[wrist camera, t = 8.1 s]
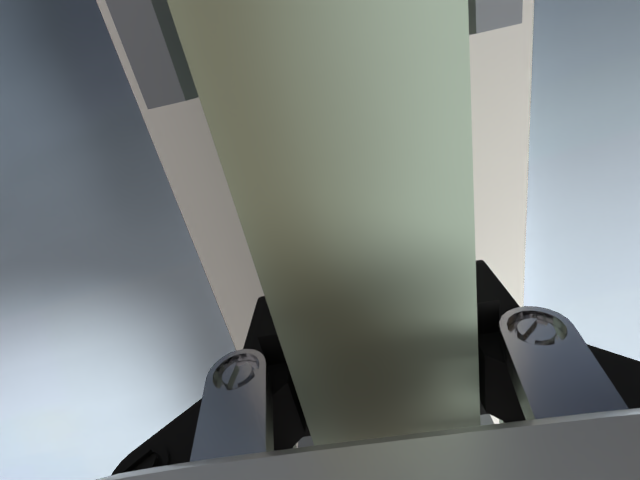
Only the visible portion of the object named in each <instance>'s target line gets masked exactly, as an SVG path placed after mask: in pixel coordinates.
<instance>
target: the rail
mask: <svg viewBox="0 0 640 480" xmlns="http://www.w3.org/2000/svg"><path fill="white" fill-rule="evenodd" d="M167 3H168V6H169V9H170V12H171V15H172V18H173V21H174V24H175V27H176V30H177V33H178V36H179V39H180V42H181V45H182V48H183V51H184V54H185V57H186V60H187V63H188V66H189V69H190V72H191V75H192V78H193V81H194V84H195V87H196V90H197V93H198V96H199V99H200V102H201V105H202V108H203V111H204V114H205V117H206V120H207V123H208V126H209V129H210V133H211V136H212V139H213V142H214V145H215V148H216V151H217V154H218V157H219V160H220V163H221V166H222V169H223V172H224V175H225V178H226V181H227V184H228V187H229V190H230V193H231V196H232V199H233V202H234V205H235V208H236V211H237V214H238V217H239V220H240V223H241V226H242V229H243V232H244V235H245V238H246V241H247V244H248V247H249V250H250V253H251V256H252V259H253V262H254V265H255V268H256V271H257V274H258V277H259V281H260V284H261V287H262V290H263V293H264V296H265V299H266V302H267V305H268V308H269V311H270V314H271V317H272V320H273V323H274V326H275V329H276V332H277V335H278V338H279V341H280V344H281V347H282V350H283V353H284V356H285V359H286V362H287V365H288V368H289V371H290V374H291V377H292V380H293V383H294V386H295V389H296V392H297V395H298V398H299V401H300V404H301V407H302V410H303V413H304V416H305V419H306V422H307V426H308V429H309V432H310V435H311V438H312V441H313V444H314V446H316V445H324V444H332V443H340V442H348V441H356V440H364V439H373V438H381V437H389V436H397V435H406V434H414V433H422V432H431V431H439V430H447V429H456V428H464V427H473V426H480V393H479V359H478V324H477V290H476V256H475V222H474V187H473V153H472V119H471V84H470V50H469V16H468V0H167Z"/></svg>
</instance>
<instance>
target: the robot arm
mask: <svg viewBox="0 0 640 480" xmlns="http://www.w3.org/2000/svg"><path fill="white" fill-rule="evenodd" d="M476 290H477V324H478V359H479V393H480V415H484V414H490V415H492V416H494V417H496V418H498V419H499V424H490V425H481V426H473V427H464V428H456V429H447V430H439V431H431V432H422V433H414V434H406V435H397V436H389V437H381V438H373V439H364V440H356V441H348V442H340V443H332V444H324V445H316V446H308V447H300V448H297V446H296V443H297V442H298V441H299V440H300V439H301V438H302V437H307V436H311V435H310V432H309V429H308V426H307V422H306V419H305V416H304V413H303V410H302V407H301V404H300V401H299V398H298V395H297V392H296V389H295V386H294V383H293V380H292V377H291V374H290V371H289V368H288V365H287V362H286V359H285V356H284V353H283V350H282V347H281V344H280V341H279V338H278V335H277V332H276V329H275V326H274V323H273V320H272V317H271V314H270V311H269V308H268V305H267V302H266V299H265V296H261V297H259V298H258V300H257V303H256V306H255V310H254V313H253V316H252V320H251V323H250V327H249V330H248V334H247V337H246V340H245V344H244V347H243V349H242V350H237V351H234V352H232V353H229V354H227V355H226V356H224V357H222V358H221V359H220V360H219V361H217V362H216V363H215V364H214V365H213V367H212V368H211V369H210V371H209V373H208V375H207V378H206V382H205V387H204V392H203V397H202V399H200V400H199V401H198V402H196V403H195V404H194V405H192V406H191V407H190V408H189V409H187V410H186V411H185V412H183V413H182V414H181V415H179V416H178V417H177V418H175V419H174V420H173V421H172V422H170V423H169V424H168V425H166V426H165V427H164V428H162V429H161V430H160V431H158V432H157V433H156V434H155V435H153V436H152V437H151V438H149V439H148V440H147V441H145V442H144V443H143V444H141V445H140V446H139V447H138V448H136V449H135V450H134V451H132V452H131V453H130V454H129V455H128V456H127V457H126V458H124V459H123V460H122V461H121V462H120V464H119V465H118V466H117V467H116V469H115V470H114V471H113V473H112V475H111V476H108V477H104V478H100V479H96V480H640V361H637V360H634V359H631V358H627V357H624V356H621V355H618V354H615V353H612V352H609V351H606V350H603V349H600V348H596V347H593V346H590V345H587V344H586V343H585V341H584V340H583V338H582V337H581V335H580V334H579V332H578V331H577V329H576V328H575V326H574V325H573V324H572V323H571V322H570V321H569V319H568V318H566V317H564V316H563V315H561V314H560V313H558V312H555V311H552V310H550V309H546V308H541V307H532V306H524V307H520V306H519V305H518V304H517V302H516V301H515V300H514V298H513V297H512V296H511V295H510V293H509V292H508V291H507V290H506V288H505V287H504V286H503V284H502V283H501V282H500V281H499V279H498V278H497V277H496V275H495V274H494V273H493V272H492V270H491V269H490V268H489V267H488V265H487V264H486V263H485V262H484V261H483V260H476Z"/></svg>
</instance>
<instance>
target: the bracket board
mask: <svg viewBox="0 0 640 480" xmlns="http://www.w3.org/2000/svg"><path fill="white" fill-rule="evenodd" d="M96 1H97V4H98V6H99V9H100V11H101V14H102V16H103V19H104V21H105V24H106V26H107V29H108V31H109V34H110V36H111V39H112V41H113V44H114V46H115V49H116V51H117V54H118V56H119V59H120V61H121V64H122V66H123V69H124V71H125V74H126V76H127V79H128V81H129V84H130V86H131V89H132V91H133V94H134V96H135V99H136V101H137V104H138V106H139V109H140V111H141V114H142V116H143V119H144V121H145V124H146V126H147V129H148V131H149V134H150V136H151V139H152V141H153V144H154V146H155V149H156V151H157V154H158V156H159V159H160V161H161V164H162V166H163V169H164V171H165V174H166V176H167V179H168V181H169V184H170V186H171V189H172V191H173V194H174V196H175V199H176V201H177V204H178V206H179V209H180V211H181V213H182V216H183V218H184V221H185V223H186V226H187V228H188V231H189V233H190V236H191V238H192V241H193V243H194V246H195V248H196V251H197V253H198V256H199V258H200V261H201V263H202V266H203V268H204V271H205V273H206V276H207V278H208V281H209V283H210V286H211V288H212V291H213V293H214V296H215V298H216V301H217V303H218V306H219V308H220V311H221V313H222V316H223V318H224V321H225V323H226V326H227V328H228V331H229V333H230V336H231V338H232V341H233V343H234V346H235V348H236V351H237V350H242V349H243V347H244V344H245V340H246V337H247V334H248V330H249V327H250V323H251V320H252V316H253V313H254V310H255V306H256V303H257V300H258V298H259V297H261V296H264V293H263V290H262V287H261V284H260V281H259V277H258V274H257V271H256V268H255V265H254V262H253V259H252V256H251V253H250V250H249V247H248V244H247V241H246V238H245V235H244V232H243V229H242V226H241V223H240V220H239V217H238V214H237V211H236V208H235V205H234V202H233V199H232V196H231V193H230V190H229V187H228V184H227V181H226V178H225V175H224V172H223V169H222V166H221V163H220V160H219V157H218V154H217V151H216V148H215V145H214V142H213V139H212V136H211V133H210V129H209V126H208V123H207V120H206V117H205V114H204V111H203V108H202V105H201V102H200V99H199V96H198V93H197V90H196V87H195V84H194V81H193V78H192V75H191V72H190V69H189V66H188V63H187V60H186V57H185V54H184V51H183V48H182V45H181V42H180V39H179V36H178V33H177V30H176V27H175V24H174V21H173V18H172V15H171V12H170V9H169V6H168V3H167V0H96ZM468 16H469V50H470V84H471V119H472V153H473V187H474V222H475V256H476V260H483V261H484V262H485V263H486V264H487V265H488V267H489V268H490V269H491V270H492V272H493V273H494V274H495V275H496V277H497V278H498V279H499V281H500V282H501V283H502V284H503V286H504V287H505V288H506V290H507V291H508V292H509V293H510V295H511V296H512V297H513V298H514V300H515V301H516V302H517V304H518V305H519V306H520V307H523V299H524V271H525V243H526V216H527V188H528V160H529V132H530V104H531V77H532V49H533V21H534V0H468ZM490 424H499V419H498V418H496V417H494V416H492V415H490V414H484V415H480V426H481V425H490ZM296 446H297V448H300V447H308V446H314V444H313V441H312V438H311V436H307V437H302V438H301V439H300V440H299V441H298V442H297V443H296Z"/></svg>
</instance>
